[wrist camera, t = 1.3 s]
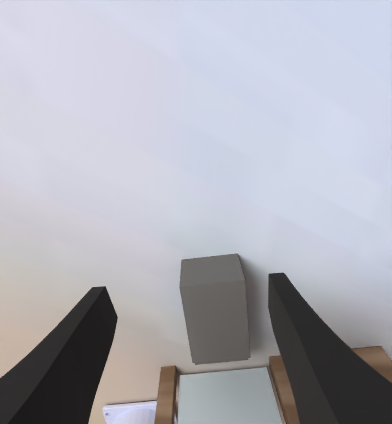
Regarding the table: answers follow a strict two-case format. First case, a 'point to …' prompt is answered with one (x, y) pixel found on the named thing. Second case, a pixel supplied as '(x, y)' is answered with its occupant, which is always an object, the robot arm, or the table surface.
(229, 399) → the flap
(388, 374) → the doorway frame
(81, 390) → the robot arm
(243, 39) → the table surface
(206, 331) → the tall grey block
